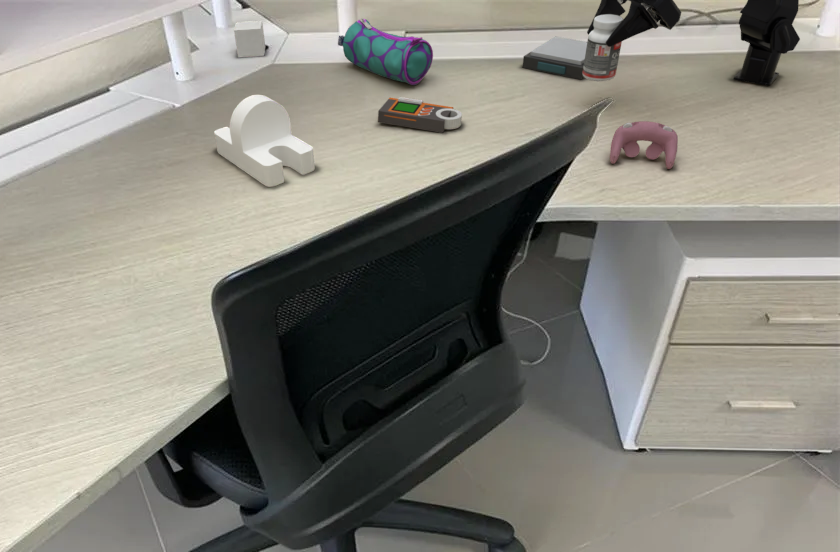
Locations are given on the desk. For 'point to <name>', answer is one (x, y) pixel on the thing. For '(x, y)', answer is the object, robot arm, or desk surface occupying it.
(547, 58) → the scale
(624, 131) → the video game controller
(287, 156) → the white slotted bracket
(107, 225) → the desk surface
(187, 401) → the desk surface
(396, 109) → the electronic device
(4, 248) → the desk surface
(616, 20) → the pill bottle
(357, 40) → the pencil case
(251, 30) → the light grey cube
